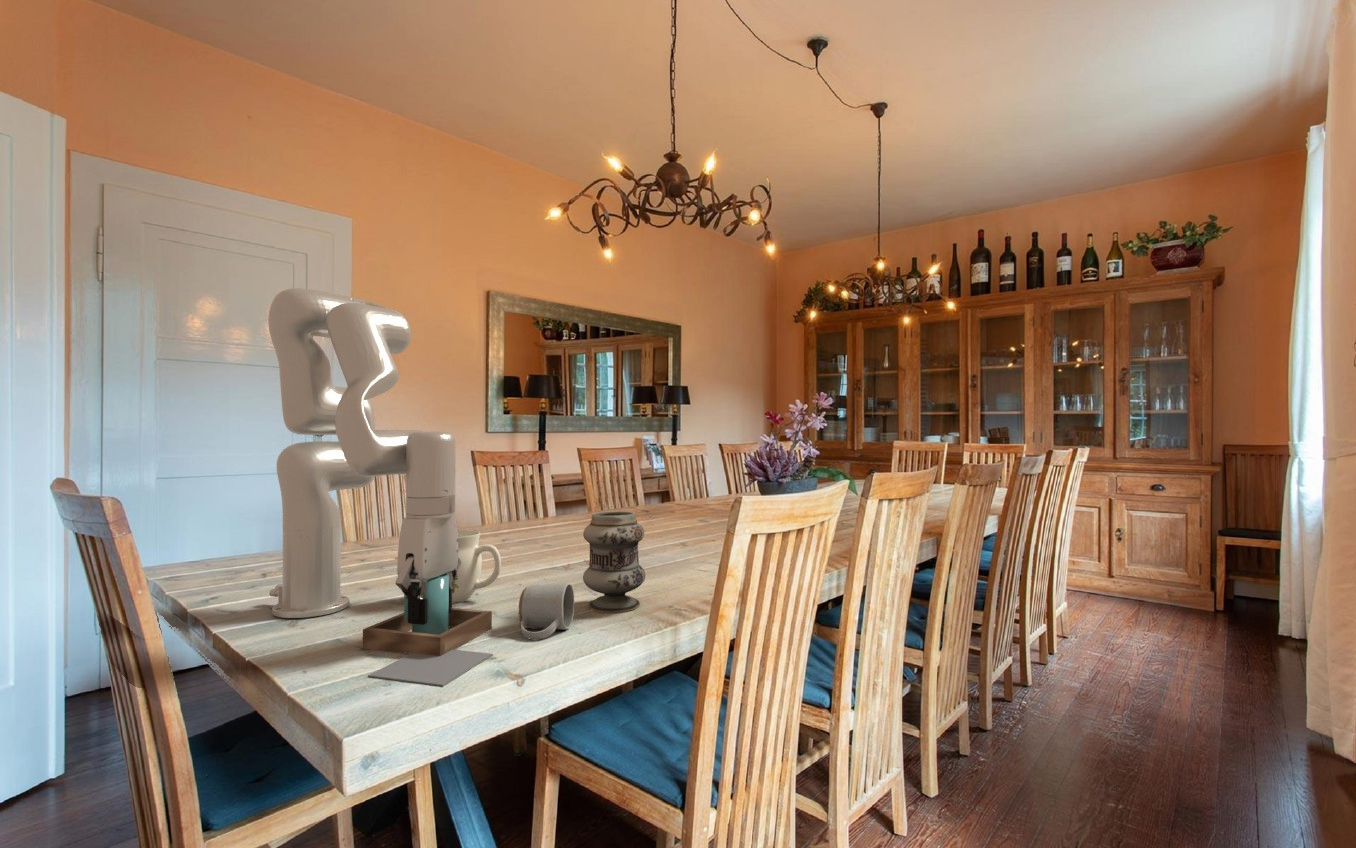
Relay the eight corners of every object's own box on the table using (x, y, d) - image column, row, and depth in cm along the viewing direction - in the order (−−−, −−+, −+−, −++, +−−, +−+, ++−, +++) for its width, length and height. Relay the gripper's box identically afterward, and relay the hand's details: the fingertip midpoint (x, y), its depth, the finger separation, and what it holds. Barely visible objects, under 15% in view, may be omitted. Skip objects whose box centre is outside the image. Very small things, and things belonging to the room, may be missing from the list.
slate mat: (368, 676, 87) (368, 675, 87) (424, 647, 99) (424, 646, 99) (443, 686, 84) (443, 684, 84) (492, 655, 96) (492, 653, 96)
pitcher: (488, 608, 120) (488, 536, 120) (400, 604, 123) (401, 533, 123) (511, 593, 131) (511, 527, 131) (430, 590, 134) (430, 525, 134)
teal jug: (455, 634, 105) (455, 574, 105) (434, 645, 100) (434, 582, 100) (417, 630, 107) (417, 571, 107) (394, 641, 102) (394, 579, 102)
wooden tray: (362, 648, 98) (362, 629, 98) (421, 622, 112) (421, 605, 112) (440, 657, 95) (440, 637, 95) (491, 629, 108) (491, 611, 108)
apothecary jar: (611, 594, 131) (611, 507, 131) (657, 603, 124) (658, 511, 124) (569, 607, 121) (569, 513, 121) (617, 618, 114) (617, 519, 114)
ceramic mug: (530, 620, 113) (530, 577, 113) (575, 621, 112) (575, 578, 112) (509, 641, 103) (509, 594, 103) (559, 642, 102) (558, 595, 102)
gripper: (443, 500, 113) (443, 602, 112) (373, 513, 96) (372, 632, 96) (480, 501, 111) (480, 605, 110) (415, 514, 94) (414, 636, 94)
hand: (430, 616), depth 103 cm, fingers closed on teal jug, 5 cm apart
